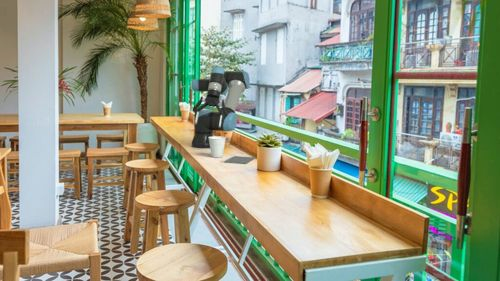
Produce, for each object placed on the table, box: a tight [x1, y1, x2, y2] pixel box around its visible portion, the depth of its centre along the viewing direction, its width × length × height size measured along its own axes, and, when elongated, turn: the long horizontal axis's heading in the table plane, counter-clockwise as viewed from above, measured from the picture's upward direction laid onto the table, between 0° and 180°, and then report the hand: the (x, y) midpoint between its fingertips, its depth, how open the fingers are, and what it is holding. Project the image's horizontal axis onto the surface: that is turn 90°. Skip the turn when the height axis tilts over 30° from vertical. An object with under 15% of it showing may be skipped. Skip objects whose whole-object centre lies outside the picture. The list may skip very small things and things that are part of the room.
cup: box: [208, 135, 227, 159], centre depth 254 cm, size 10×10×11 cm
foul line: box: [220, 154, 235, 163], centre depth 249 cm, size 18×1×1 cm, turn 164°
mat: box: [223, 155, 256, 165], centre depth 246 cm, size 18×12×1 cm, turn 164°
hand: (207, 124), depth 259 cm, fingers open, 13 cm apart
